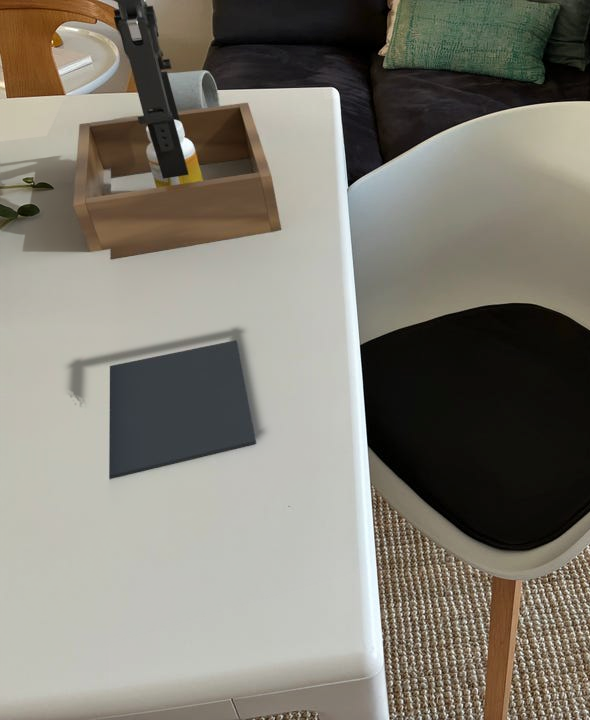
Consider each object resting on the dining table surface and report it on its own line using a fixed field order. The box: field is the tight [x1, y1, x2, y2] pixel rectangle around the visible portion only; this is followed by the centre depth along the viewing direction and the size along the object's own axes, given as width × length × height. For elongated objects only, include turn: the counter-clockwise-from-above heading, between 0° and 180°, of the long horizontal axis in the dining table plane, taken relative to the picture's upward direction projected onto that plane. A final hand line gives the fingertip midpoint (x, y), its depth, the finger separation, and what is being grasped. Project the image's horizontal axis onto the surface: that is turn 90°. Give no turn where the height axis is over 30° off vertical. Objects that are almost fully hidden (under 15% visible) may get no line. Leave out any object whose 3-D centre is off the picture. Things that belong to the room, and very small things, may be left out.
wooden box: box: [72, 102, 282, 260], centre depth 93 cm, size 21×20×7 cm
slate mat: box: [108, 339, 257, 479], centre depth 68 cm, size 14×14×1 cm
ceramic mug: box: [149, 69, 221, 111], centre depth 108 cm, size 11×8×8 cm
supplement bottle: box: [146, 120, 204, 188], centre depth 92 cm, size 5×5×10 cm
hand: (172, 150), depth 91 cm, fingers open, 13 cm apart
